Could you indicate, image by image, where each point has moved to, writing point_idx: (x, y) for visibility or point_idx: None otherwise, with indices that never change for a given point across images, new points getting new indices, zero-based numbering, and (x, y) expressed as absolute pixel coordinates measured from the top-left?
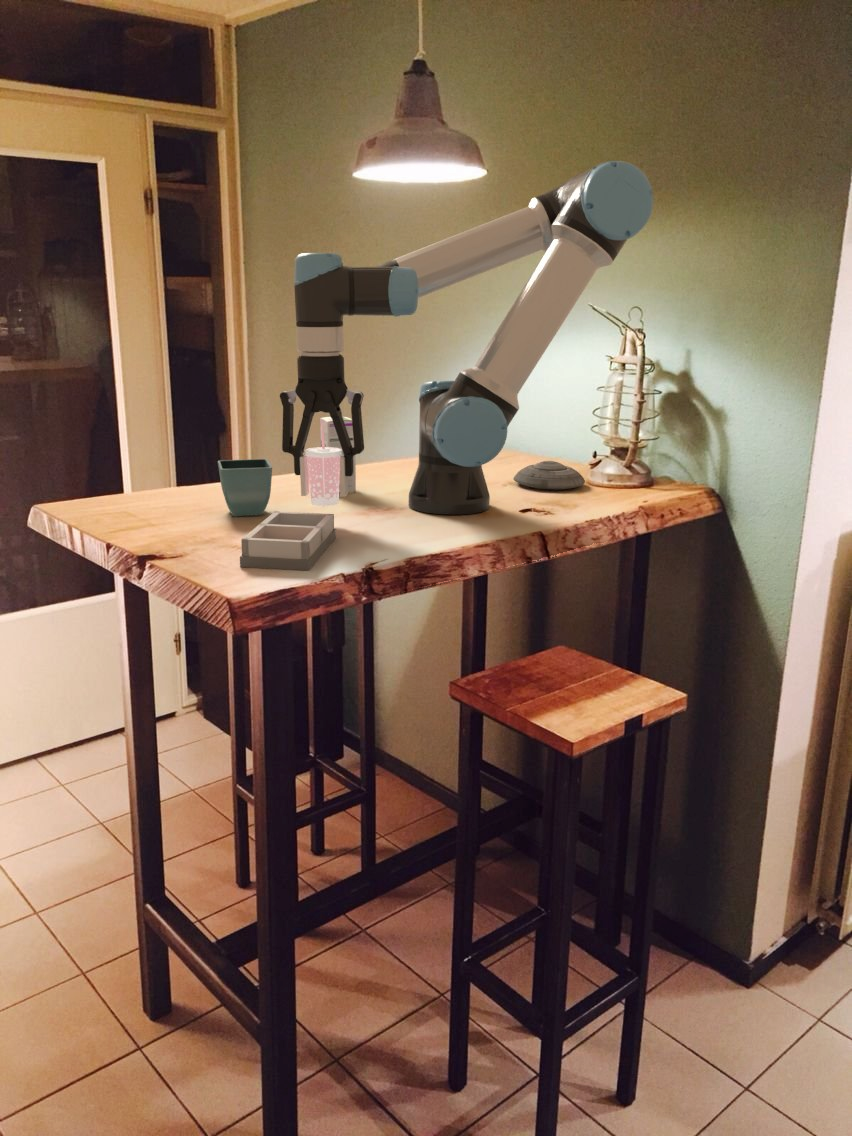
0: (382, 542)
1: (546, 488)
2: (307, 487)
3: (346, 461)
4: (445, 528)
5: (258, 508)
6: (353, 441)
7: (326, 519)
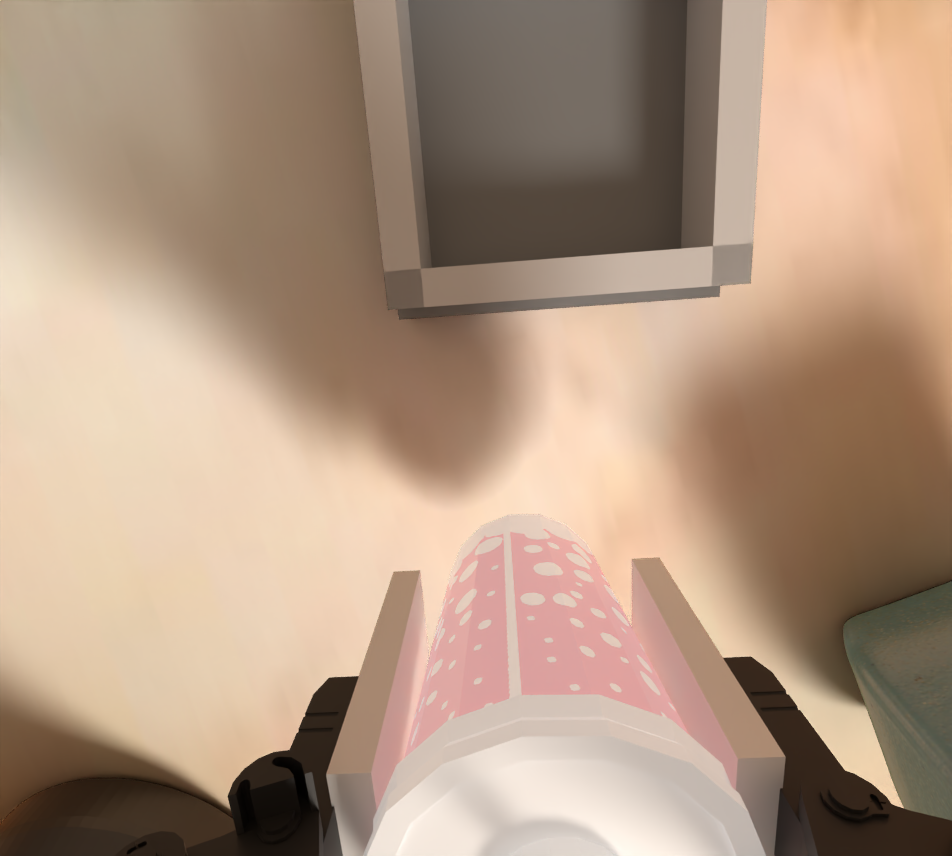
0: (181, 293)
1: None
2: (642, 632)
3: (326, 772)
4: (28, 589)
5: (878, 622)
6: None
7: (384, 150)
